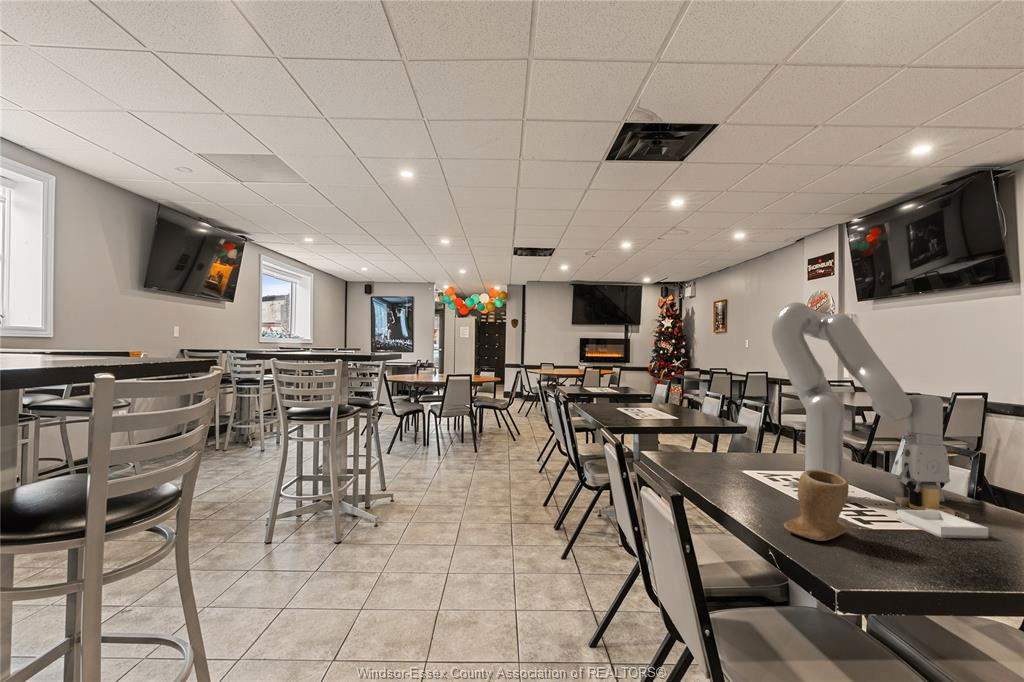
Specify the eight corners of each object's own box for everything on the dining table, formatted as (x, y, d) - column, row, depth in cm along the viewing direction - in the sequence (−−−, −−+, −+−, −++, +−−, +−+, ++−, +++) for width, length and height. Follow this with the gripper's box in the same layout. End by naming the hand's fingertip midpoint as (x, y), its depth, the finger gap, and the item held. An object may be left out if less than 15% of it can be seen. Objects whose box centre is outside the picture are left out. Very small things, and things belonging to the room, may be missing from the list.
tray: (940, 537, 110) (940, 526, 110) (897, 519, 122) (897, 509, 122) (988, 538, 110) (988, 527, 110) (939, 520, 122) (940, 510, 122)
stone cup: (831, 551, 100) (832, 481, 100) (776, 532, 110) (777, 468, 110) (864, 538, 107) (865, 473, 108) (810, 521, 118) (811, 462, 118)
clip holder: (932, 518, 123) (932, 510, 123) (895, 504, 135) (895, 497, 135) (969, 519, 123) (969, 511, 124) (928, 504, 135) (928, 497, 135)
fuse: (928, 515, 126) (928, 485, 126) (908, 507, 132) (909, 479, 132) (939, 515, 126) (939, 485, 126) (919, 507, 132) (919, 479, 132)
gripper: (907, 441, 126) (906, 509, 125) (966, 442, 126) (966, 510, 126) (883, 436, 133) (883, 500, 133) (940, 437, 134) (940, 501, 133)
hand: (923, 504), depth 129 cm, fingers open, 4 cm apart
